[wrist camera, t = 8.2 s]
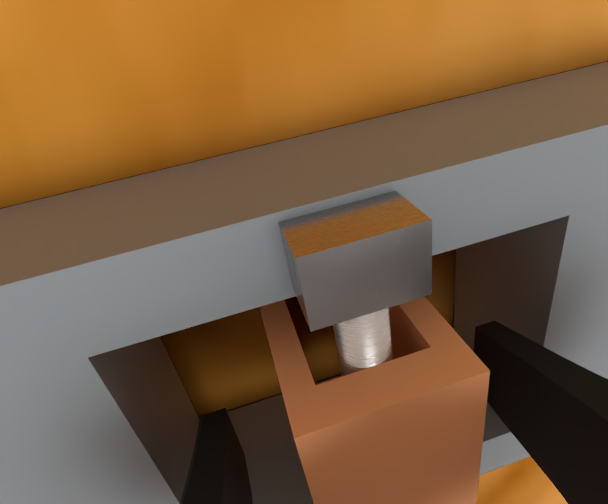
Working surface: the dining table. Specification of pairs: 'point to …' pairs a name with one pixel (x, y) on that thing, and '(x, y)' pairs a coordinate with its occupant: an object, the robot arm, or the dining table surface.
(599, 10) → the dining table surface
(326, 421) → the open-top orange sleeve
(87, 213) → the thick gray rectangular frame
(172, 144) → the dining table surface
